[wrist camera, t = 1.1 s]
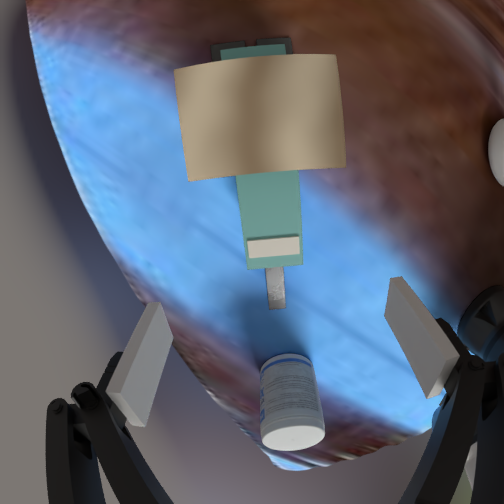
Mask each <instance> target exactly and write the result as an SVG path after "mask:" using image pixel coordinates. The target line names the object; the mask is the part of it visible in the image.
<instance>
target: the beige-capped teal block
mask: <svg viewBox="0 0 504 504" xmlns="http://www.w3.org/2000/svg"><path fill="white" fill-rule="evenodd" d="M220 52H221V60H222V61H223V60H230V59H238V58H247V57H257V56H270V55H286V50H285V44H276V45H261V46H250V47H240V48H232V49H225V50H220ZM236 184H237V192H238V200H239V208H240V216H241V223H242V231H243V239H244V247H245V254H246V262H247V270H249V269H261V268H273V267H284V266H295V265H303V243H302V220H301V202H300V186H299V172H298V170H290V171H277V172H265V173H255V174H245V175H236Z"/></svg>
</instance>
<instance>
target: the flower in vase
mask: <svg viewBox="0 0 504 504" xmlns="http://www.w3.org/2000/svg"><path fill="white" fill-rule="evenodd" d="M488 157H489V163H490V167H491V170H492V172H493V174H494V176H495V178H496V180H497V181H498V182H499V183H500V184H501V185H502V186H504V119H501V120H499V121H498V122H497V123H496V124H495V125H494V127H493V128H492V131H491V133H490V137H489V142H488Z"/></svg>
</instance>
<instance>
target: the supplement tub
mask: <svg viewBox="0 0 504 504" xmlns="http://www.w3.org/2000/svg"><path fill="white" fill-rule="evenodd" d="M260 420H261V436H262V442H263V444H264V445H265V446H267V447H269V448H271V449H275V450H282V451H291V450H299V449H304V448H307V447H310V446H313V445H315V444H317V443H318V442H320V441H321V440H322V439H323V438H324V435H325V431H324V428H325V426H324V419H323V413H322V408H321V402H320V397H319V392H318V387H317V382H316V377H315V371H314V367H313V364H312V363H311V361H310V360H309V359H307V358H306V357H304V356H302V355H298V354H281V355H277V356H275V357H273V358H271V359H269V360H268V361H266V362H265V363H264V365H263V366H262V368H261V371H260Z"/></svg>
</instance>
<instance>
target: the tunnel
mask: <svg viewBox="0 0 504 504" xmlns="http://www.w3.org/2000/svg"><path fill="white" fill-rule="evenodd" d="M174 77H175V87H176V95H177V104H178V112H179V120H180V127H181V135H182V142H183V149H184V156H185V162H186V169H187V175H188V181H189V182H190V181H197V180H204V179H212V178H219V177H228V176H236V175H245V174H255V173H265V172H277V171H290V170H304V169H322V168H346V153H345V136H344V122H343V111H342V100H341V91H340V82H339V75H338V67H337V60H336V55H328V54H290V55H270V56H257V57H247V58H238V59H230V60H223V61H217V62H210V63H205V64H199V65H194V66H189V67H184V68H180V69H175V70H174Z"/></svg>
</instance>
